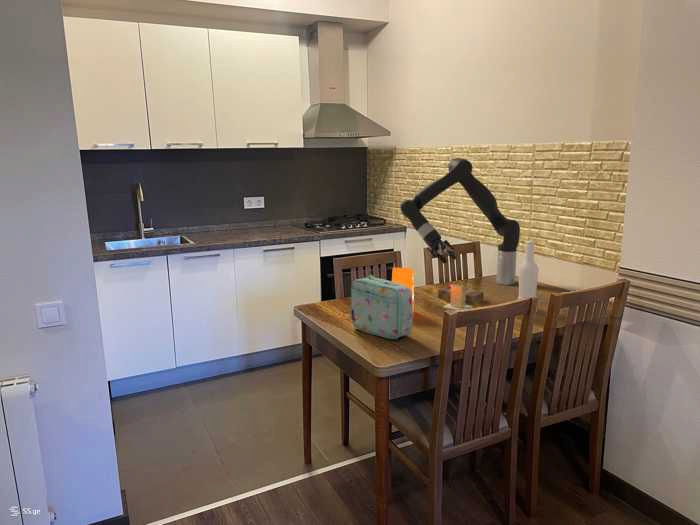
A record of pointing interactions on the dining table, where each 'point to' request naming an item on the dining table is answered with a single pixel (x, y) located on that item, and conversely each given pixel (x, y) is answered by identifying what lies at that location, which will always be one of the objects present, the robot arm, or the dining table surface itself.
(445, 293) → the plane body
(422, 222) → the robot arm
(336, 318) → the dining table surface
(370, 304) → the lunch box
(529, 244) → the bottle
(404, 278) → the orange juice
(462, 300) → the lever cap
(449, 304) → the pad
